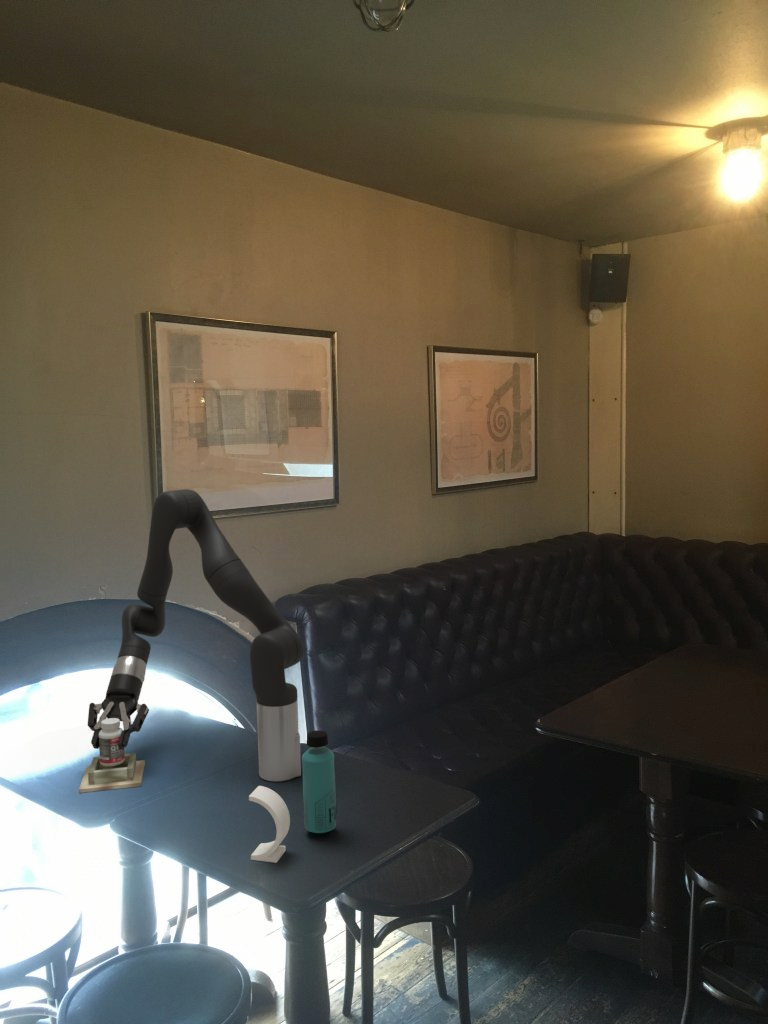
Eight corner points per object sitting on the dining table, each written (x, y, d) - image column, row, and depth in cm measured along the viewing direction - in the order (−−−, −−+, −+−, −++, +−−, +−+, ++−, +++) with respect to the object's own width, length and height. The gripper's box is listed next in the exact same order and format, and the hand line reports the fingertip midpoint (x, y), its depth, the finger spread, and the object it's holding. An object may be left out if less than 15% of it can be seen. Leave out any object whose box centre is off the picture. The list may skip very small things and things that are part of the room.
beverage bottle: (332, 842, 153) (329, 740, 151) (298, 839, 154) (295, 738, 152) (341, 826, 159) (338, 727, 157) (308, 823, 160) (305, 725, 159)
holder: (144, 763, 192) (144, 749, 192) (141, 786, 179) (140, 770, 179) (87, 769, 189) (86, 754, 189) (79, 792, 177) (78, 777, 176)
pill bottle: (115, 768, 181) (113, 726, 180) (94, 765, 182) (92, 723, 181) (129, 758, 186) (127, 717, 185) (109, 756, 188) (107, 715, 187)
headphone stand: (260, 847, 152) (258, 785, 150) (291, 850, 150) (289, 788, 149) (250, 859, 147) (248, 796, 146) (281, 863, 146) (279, 799, 145)
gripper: (92, 671, 190) (71, 740, 180) (151, 672, 189) (133, 741, 178) (103, 686, 196) (83, 753, 185) (160, 687, 195) (144, 755, 184)
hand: (108, 747), depth 182 cm, fingers closed on pill bottle, 5 cm apart
